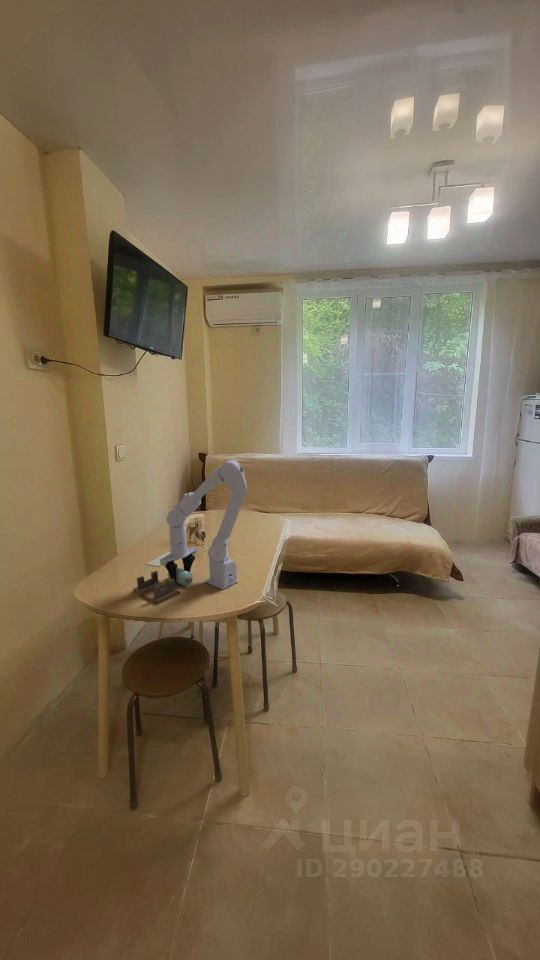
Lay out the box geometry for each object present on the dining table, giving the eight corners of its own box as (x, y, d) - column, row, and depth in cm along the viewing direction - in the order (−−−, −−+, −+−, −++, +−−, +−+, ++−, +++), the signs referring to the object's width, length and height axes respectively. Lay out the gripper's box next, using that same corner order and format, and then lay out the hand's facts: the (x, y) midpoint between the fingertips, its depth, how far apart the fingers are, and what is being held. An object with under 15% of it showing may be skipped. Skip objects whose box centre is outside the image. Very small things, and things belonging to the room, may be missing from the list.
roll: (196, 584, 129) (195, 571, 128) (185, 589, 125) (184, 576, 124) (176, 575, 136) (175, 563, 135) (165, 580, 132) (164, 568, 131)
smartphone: (181, 553, 157) (159, 566, 143) (181, 554, 157) (159, 567, 143) (168, 551, 160) (145, 564, 146) (168, 552, 160) (145, 565, 146)
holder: (180, 593, 122) (179, 579, 121) (157, 604, 115) (156, 590, 114) (156, 581, 130) (155, 568, 130) (133, 591, 124) (132, 577, 123)
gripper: (187, 534, 136) (189, 568, 138) (153, 545, 124) (156, 581, 127) (200, 537, 131) (201, 573, 134) (166, 549, 120) (168, 587, 123)
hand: (180, 577), depth 130 cm, fingers open, 5 cm apart
